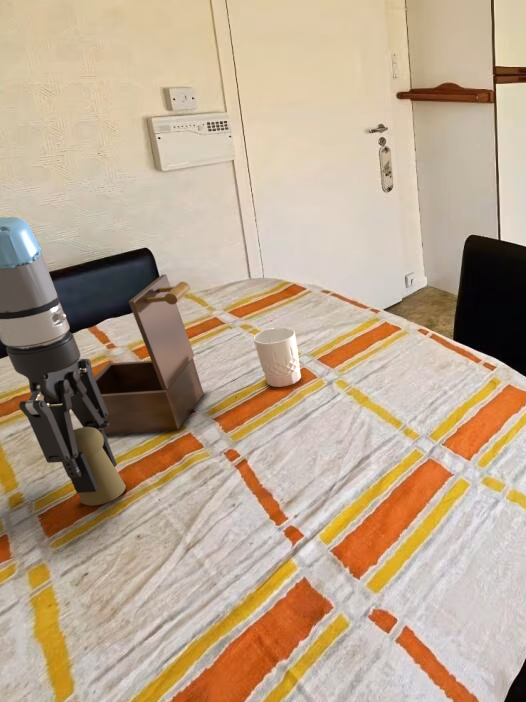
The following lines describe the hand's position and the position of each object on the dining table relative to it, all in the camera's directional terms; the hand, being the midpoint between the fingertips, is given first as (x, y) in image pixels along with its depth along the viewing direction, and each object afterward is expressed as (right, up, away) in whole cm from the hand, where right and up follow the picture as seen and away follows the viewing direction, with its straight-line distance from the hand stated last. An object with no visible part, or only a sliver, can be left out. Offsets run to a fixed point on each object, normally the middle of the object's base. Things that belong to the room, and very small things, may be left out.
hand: (97, 478), depth 94 cm
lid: (+1, +24, +16) cm, 29 cm away
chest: (-6, +9, +23) cm, 26 cm away
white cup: (+16, +15, +34) cm, 41 cm away
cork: (0, -3, +1) cm, 3 cm away
